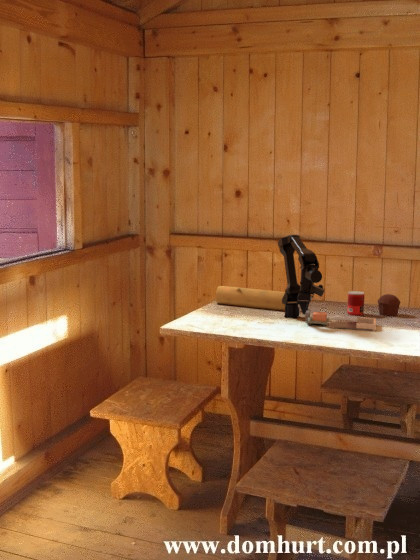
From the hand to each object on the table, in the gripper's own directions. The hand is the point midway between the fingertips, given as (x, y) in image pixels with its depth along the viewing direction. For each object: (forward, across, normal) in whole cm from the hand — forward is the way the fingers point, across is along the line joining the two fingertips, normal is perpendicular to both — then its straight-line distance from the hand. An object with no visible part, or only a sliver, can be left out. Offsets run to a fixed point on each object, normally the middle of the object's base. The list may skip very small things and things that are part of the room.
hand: (305, 312), depth 373 cm
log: (+6, +34, +30) cm, 45 cm away
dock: (+6, 0, -22) cm, 23 cm away
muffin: (+5, +35, -38) cm, 52 cm away
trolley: (+5, 0, -6) cm, 8 cm away
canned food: (+5, +30, -22) cm, 38 cm away
